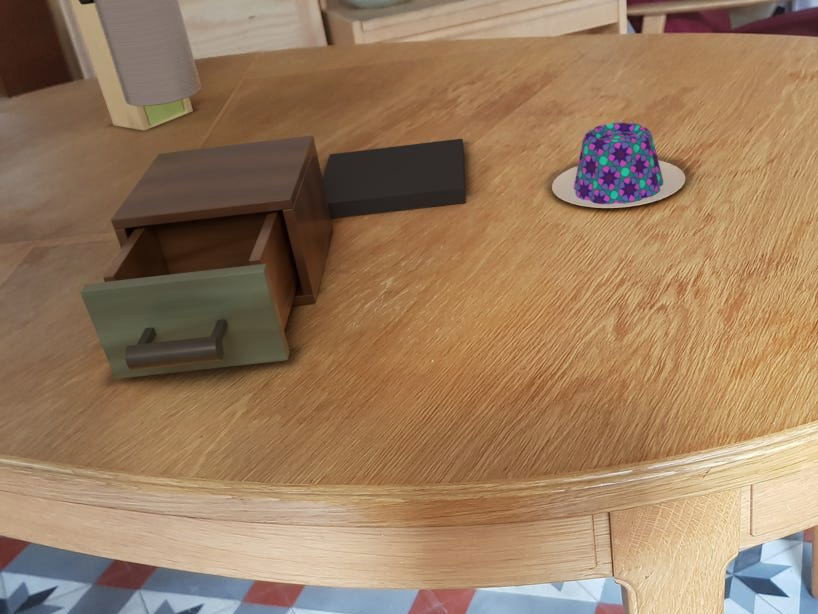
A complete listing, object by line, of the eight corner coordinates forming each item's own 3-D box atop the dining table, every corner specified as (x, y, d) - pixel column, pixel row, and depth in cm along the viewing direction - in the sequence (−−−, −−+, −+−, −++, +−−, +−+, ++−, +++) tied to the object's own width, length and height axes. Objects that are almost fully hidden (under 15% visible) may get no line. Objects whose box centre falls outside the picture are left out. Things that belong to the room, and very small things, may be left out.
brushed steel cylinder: (116, 109, 61) (51, -87, 54) (137, 88, 65) (79, -98, 58) (192, 101, 61) (136, -98, 54) (208, 79, 65) (158, -108, 58)
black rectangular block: (317, 220, 89) (314, 204, 88) (332, 168, 100) (329, 154, 99) (465, 203, 88) (464, 187, 87) (464, 152, 99) (462, 138, 98)
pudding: (697, 207, 81) (698, 146, 78) (557, 222, 82) (554, 162, 79) (672, 159, 91) (673, 103, 88) (547, 173, 92) (544, 118, 88)
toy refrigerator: (149, 138, 116) (86, -56, 103) (113, 132, 120) (49, -56, 107) (199, 118, 120) (145, -70, 108) (164, 112, 124) (108, -70, 111)
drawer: (278, 393, 63) (252, 301, 59) (97, 412, 63) (58, 323, 59) (310, 275, 77) (291, 194, 73) (161, 292, 78) (133, 213, 73)
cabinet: (315, 303, 75) (290, 198, 70) (147, 322, 76) (110, 219, 70) (333, 229, 86) (313, 134, 81) (188, 246, 87) (158, 153, 82)
